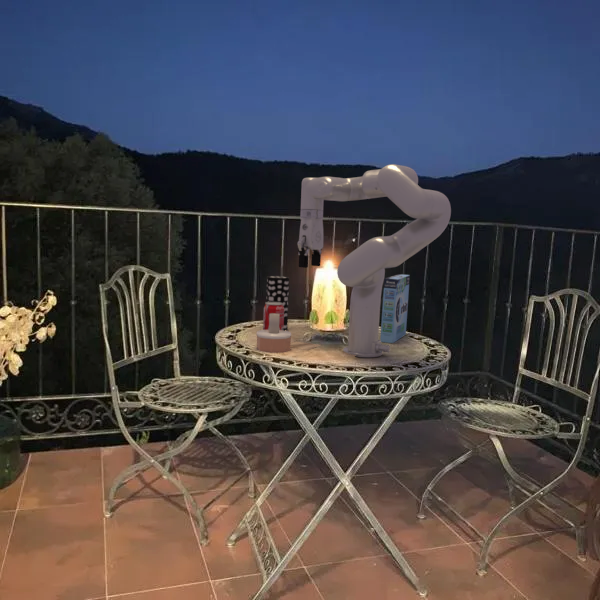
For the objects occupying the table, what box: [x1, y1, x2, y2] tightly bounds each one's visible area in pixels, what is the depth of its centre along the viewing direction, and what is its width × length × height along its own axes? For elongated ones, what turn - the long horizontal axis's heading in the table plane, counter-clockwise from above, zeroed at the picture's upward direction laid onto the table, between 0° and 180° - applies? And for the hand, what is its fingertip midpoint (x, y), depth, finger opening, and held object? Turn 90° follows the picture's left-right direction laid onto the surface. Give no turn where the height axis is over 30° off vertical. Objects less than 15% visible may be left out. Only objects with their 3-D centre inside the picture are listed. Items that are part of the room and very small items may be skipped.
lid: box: [256, 313, 292, 339], centre depth 200 cm, size 11×11×7 cm
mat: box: [290, 341, 322, 351], centre depth 208 cm, size 10×10×1 cm
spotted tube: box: [265, 275, 290, 331], centre depth 239 cm, size 8×8×20 cm
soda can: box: [262, 301, 284, 330], centre depth 218 cm, size 7×7×13 cm
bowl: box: [256, 335, 292, 353], centre depth 201 cm, size 10×10×5 cm
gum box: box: [379, 273, 411, 344], centre depth 229 cm, size 20×5×23 cm, turn 157°
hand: (309, 266), depth 212 cm, fingers open, 9 cm apart
